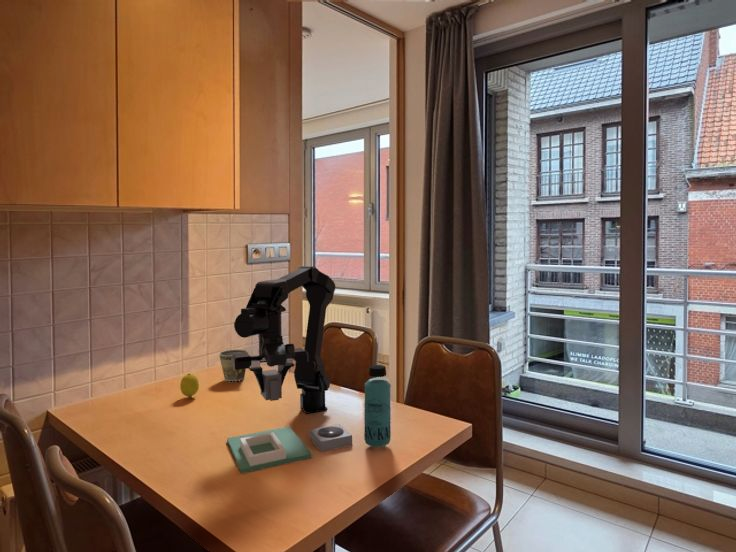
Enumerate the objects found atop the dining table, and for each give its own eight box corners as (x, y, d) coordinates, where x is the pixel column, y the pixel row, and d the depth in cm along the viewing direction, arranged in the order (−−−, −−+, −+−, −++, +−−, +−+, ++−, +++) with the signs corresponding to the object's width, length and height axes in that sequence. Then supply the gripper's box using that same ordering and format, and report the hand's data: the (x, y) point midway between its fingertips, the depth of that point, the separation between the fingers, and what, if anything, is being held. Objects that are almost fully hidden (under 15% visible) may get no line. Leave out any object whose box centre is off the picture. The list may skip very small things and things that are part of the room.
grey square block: (339, 433, 122) (339, 423, 122) (352, 445, 115) (352, 434, 115) (310, 439, 119) (310, 428, 118) (321, 451, 111) (321, 440, 111)
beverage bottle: (363, 442, 116) (362, 362, 115) (389, 441, 117) (389, 361, 116) (365, 454, 110) (364, 370, 108) (393, 452, 111) (392, 369, 109)
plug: (275, 391, 124) (275, 369, 124) (282, 399, 118) (282, 375, 118) (260, 393, 123) (260, 371, 122) (266, 401, 116) (266, 377, 116)
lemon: (202, 395, 153) (201, 371, 152) (191, 401, 148) (190, 376, 147) (188, 394, 155) (187, 370, 154) (176, 399, 149) (175, 374, 149)
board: (289, 430, 124) (289, 419, 124) (312, 457, 108) (311, 445, 108) (227, 441, 117) (226, 430, 117) (241, 473, 101) (241, 460, 101)
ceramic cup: (214, 380, 170) (214, 352, 169) (239, 374, 177) (238, 348, 177) (234, 387, 161) (233, 358, 161) (259, 381, 169) (258, 353, 168)
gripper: (238, 339, 108) (239, 406, 109) (315, 333, 116) (315, 395, 117) (230, 331, 119) (231, 392, 119) (301, 326, 126) (302, 383, 127)
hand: (270, 391), depth 121 cm, fingers closed on plug, 4 cm apart
